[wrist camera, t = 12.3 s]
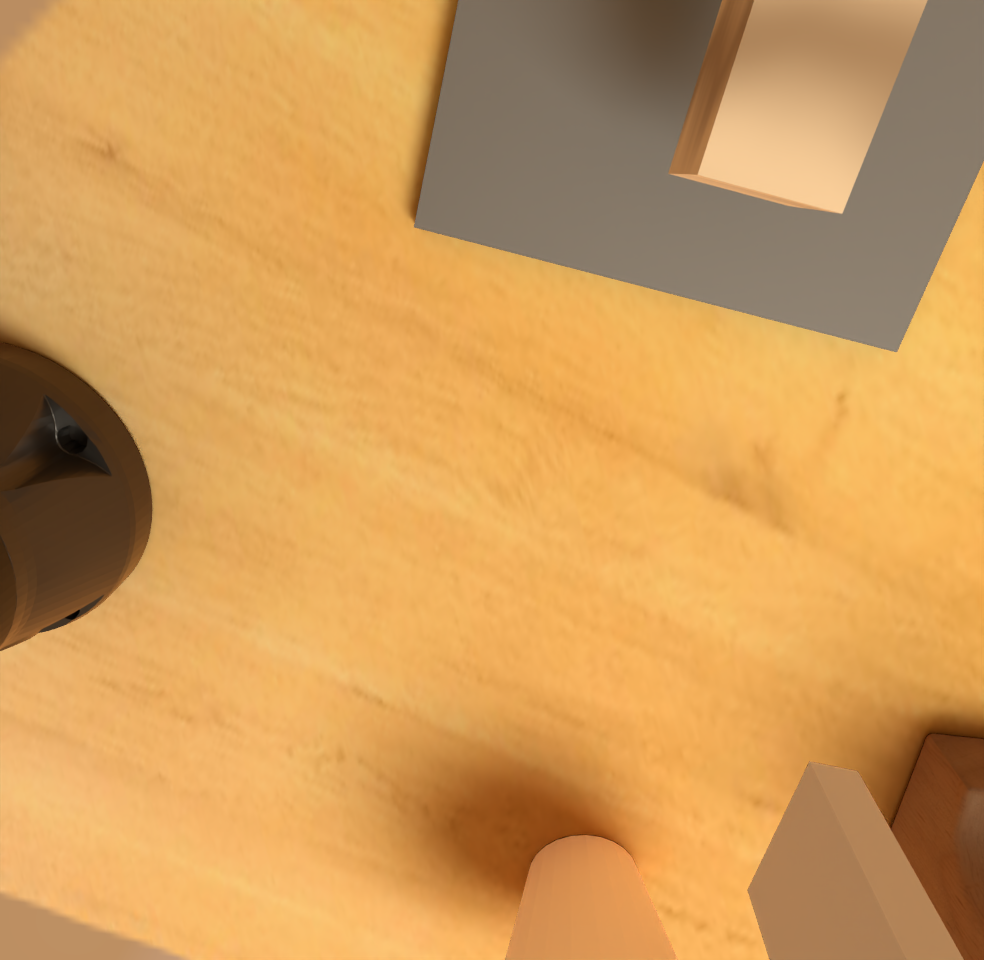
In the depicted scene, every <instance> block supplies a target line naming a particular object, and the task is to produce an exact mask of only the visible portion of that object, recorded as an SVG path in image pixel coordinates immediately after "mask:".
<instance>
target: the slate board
mask: <svg viewBox="0 0 984 960" xmlns="http://www.w3.org/2000/svg"><path fill="white" fill-rule="evenodd" d="M721 2H722V0H458V5H457V10H456V15H455V20H454V25H453V30H452V36H451V41H450V46H449V51H448V56H447V61H446V66H445V71H444V76H443V81H442V87H441V92H440V97H439V102H438V107H437V112H436V117H435V122H434V127H433V133H432V138H431V143H430V148H429V153H428V158H427V163H426V168H425V173H424V178H423V184H422V189H421V194H420V199H419V204H418V209H417V214H416V219H415V224H414V227H415V228H419V229H423V230H427V231H431V232H435V233H438V234H442V235H446V236H450V237H454V238H458V239H462V240H465V241H469V242H473V243H477V244H481V245H485V246H489V247H492V248H496V249H500V250H504V251H508V252H512V253H516V254H519V255H523V256H527V257H531V258H535V259H539V260H543V261H546V262H550V263H554V264H558V265H562V266H566V267H570V268H573V269H577V270H581V271H585V272H589V273H593V274H597V275H600V276H604V277H608V278H612V279H616V280H620V281H624V282H627V283H631V284H635V285H639V286H643V287H647V288H651V289H654V290H658V291H662V292H666V293H670V294H674V295H678V296H681V297H685V298H689V299H693V300H697V301H701V302H705V303H708V304H712V305H716V306H720V307H724V308H728V309H732V310H735V311H739V312H743V313H747V314H751V315H755V316H759V317H762V318H766V319H770V320H774V321H778V322H782V323H786V324H789V325H793V326H797V327H801V328H805V329H809V330H813V331H816V332H820V333H824V334H828V335H832V336H836V337H840V338H843V339H847V340H851V341H855V342H859V343H863V344H867V345H870V346H874V347H878V348H882V349H886V350H890V351H894V352H897V351H898V349H899V346H900V344H901V342H902V340H903V338H904V335H905V333H906V331H907V329H908V326H909V324H910V322H911V320H912V318H913V315H914V313H915V311H916V309H917V307H918V304H919V302H920V300H921V298H922V296H923V293H924V291H925V289H926V287H927V285H928V282H929V280H930V278H931V276H932V274H933V271H934V269H935V267H936V265H937V263H938V260H939V258H940V256H941V254H942V252H943V249H944V247H945V245H946V243H947V241H948V238H949V236H950V234H951V232H952V230H953V227H954V225H955V223H956V221H957V219H958V216H959V214H960V212H961V210H962V207H963V205H964V203H965V201H966V199H967V196H968V194H969V192H970V190H971V188H972V185H973V183H974V181H975V179H976V177H977V174H978V172H979V170H980V168H981V166H982V163H983V161H984V0H928V1H927V3H926V6H925V8H924V11H923V13H922V16H921V18H920V21H919V23H918V26H917V28H916V31H915V33H914V36H913V38H912V41H911V43H910V46H909V48H908V51H907V53H906V56H905V58H904V61H903V63H902V66H901V68H900V71H899V73H898V76H897V78H896V81H895V83H894V86H893V88H892V91H891V93H890V96H889V98H888V101H887V103H886V106H885V108H884V111H883V113H882V116H881V118H880V121H879V123H878V126H877V128H876V131H875V133H874V136H873V138H872V141H871V143H870V146H869V148H868V151H867V153H866V156H865V158H864V161H863V163H862V166H861V168H860V171H859V173H858V176H857V178H856V181H855V183H854V186H853V188H852V191H851V193H850V196H849V198H848V201H847V203H846V206H845V208H844V211H843V213H842V214H840V213H833V212H827V211H820V210H813V209H806V208H799V207H792V206H787V205H783V204H779V203H775V202H772V201H768V200H764V199H761V198H757V197H753V196H749V195H746V194H742V193H738V192H735V191H731V190H727V189H723V188H720V187H716V186H712V185H709V184H705V183H701V182H697V181H694V180H690V179H686V178H683V177H679V176H675V175H671V174H668V173H669V170H670V166H671V163H672V160H673V157H674V153H675V150H676V147H677V144H678V141H679V137H680V134H681V131H682V128H683V125H684V121H685V118H686V115H687V112H688V108H689V105H690V102H691V99H692V96H693V92H694V89H695V86H696V83H697V79H698V76H699V73H700V70H701V67H702V63H703V60H704V57H705V54H706V51H707V47H708V44H709V41H710V38H711V34H712V31H713V28H714V25H715V22H716V18H717V15H718V12H719V9H720V6H721Z"/></svg>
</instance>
